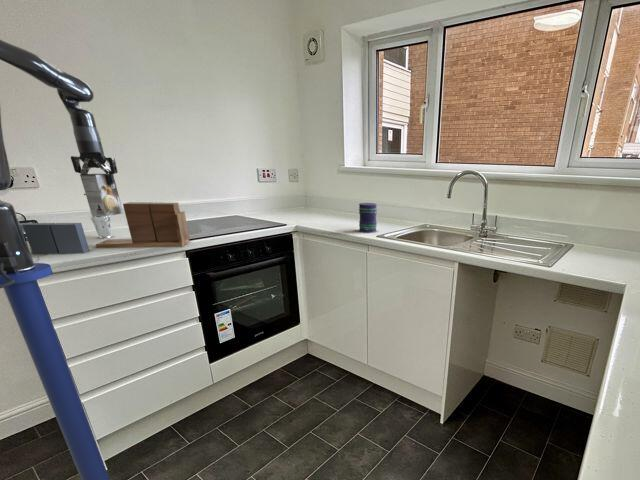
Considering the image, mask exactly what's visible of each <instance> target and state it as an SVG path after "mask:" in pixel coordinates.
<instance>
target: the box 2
mask: <svg viewBox="0 0 640 480" xmlns="http://www.w3.org/2000/svg"><path fill="white" fill-rule="evenodd" d="M149 205H150V210H151V214H152V219H153V223H154V228H155V232H156V237H157V241H158V242H179V239H178V234H177V229H176V224H175V219H174V214H176V213H179V212H181V210H180V204H179V202H161V201H160V202H157V201H156V202H154V203H151V204H149Z"/></svg>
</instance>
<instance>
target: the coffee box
mask: <svg viewBox="0 0 640 480" xmlns="http://www.w3.org/2000/svg"><path fill="white" fill-rule="evenodd" d="M106 175H107V174H106V173H88V174H80V173H79V176H80V180H81V183H82V187H83V190H84V194H86V195H85V197H86V200H87V204H88V207H89V211H91V214H92V216H110V217H112V216H115V215H122V214H124V209H123V205H122V203H121V202H122V201H121V199H120V195H119V190H118V188H117V184H116V180H115V175H113V179H114V183H113V185H109V184H108V180H107V176H106ZM111 215H112V216H111Z"/></svg>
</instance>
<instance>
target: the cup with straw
mask: <svg viewBox="0 0 640 480" xmlns="http://www.w3.org/2000/svg"><path fill="white" fill-rule="evenodd" d="M83 196H86V194H85V193H83ZM112 216H113V215H111V216H92V214H91V211H90V210H89V211H88V214H87V218H90V221H91V222H92V224H93V226H94V229H95V231H96V234H97V236H98V237H99V239H111V238H112V237H113V236H112V227H111V217H112Z"/></svg>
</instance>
